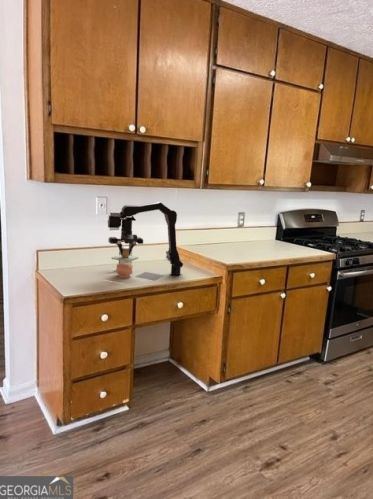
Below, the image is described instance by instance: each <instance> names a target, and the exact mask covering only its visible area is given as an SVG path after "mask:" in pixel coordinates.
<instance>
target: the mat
mask: <svg viewBox="0 0 373 499" xmlns="http://www.w3.org/2000/svg"><path fill="white" fill-rule="evenodd" d="M164 276H165V275H164V274H160V273H153V272H148V271H144V272H142V273H141V274H138V275H136V276H134V277H135V278H139V279H143V280H144V279H146V280H150V281H157V280H159V279H161V278H163V277H164Z"/></svg>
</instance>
